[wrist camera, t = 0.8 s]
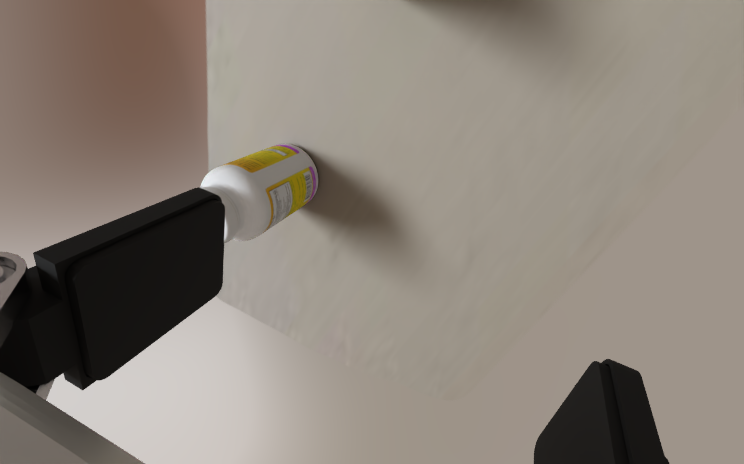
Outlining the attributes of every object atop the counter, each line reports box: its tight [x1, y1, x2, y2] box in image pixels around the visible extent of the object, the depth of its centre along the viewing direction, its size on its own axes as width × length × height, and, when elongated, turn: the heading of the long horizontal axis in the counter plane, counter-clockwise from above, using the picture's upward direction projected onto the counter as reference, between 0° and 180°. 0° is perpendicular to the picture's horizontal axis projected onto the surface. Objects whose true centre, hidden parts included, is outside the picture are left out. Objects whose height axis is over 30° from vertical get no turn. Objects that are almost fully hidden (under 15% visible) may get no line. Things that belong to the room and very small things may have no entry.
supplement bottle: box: [200, 144, 318, 243], centre depth 36 cm, size 7×7×13 cm
